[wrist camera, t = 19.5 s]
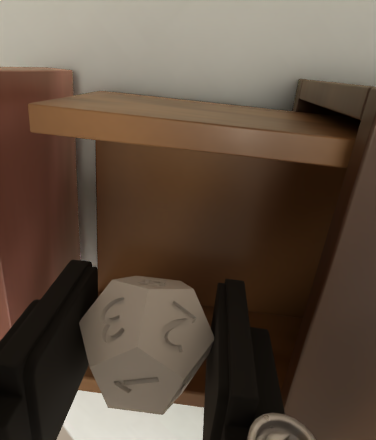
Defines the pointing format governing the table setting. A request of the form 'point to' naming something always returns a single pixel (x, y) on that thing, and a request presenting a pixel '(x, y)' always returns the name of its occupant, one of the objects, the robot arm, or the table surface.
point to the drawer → (168, 198)
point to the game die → (145, 342)
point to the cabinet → (340, 288)
